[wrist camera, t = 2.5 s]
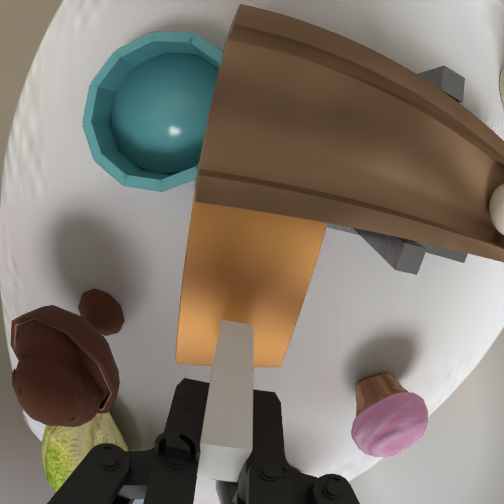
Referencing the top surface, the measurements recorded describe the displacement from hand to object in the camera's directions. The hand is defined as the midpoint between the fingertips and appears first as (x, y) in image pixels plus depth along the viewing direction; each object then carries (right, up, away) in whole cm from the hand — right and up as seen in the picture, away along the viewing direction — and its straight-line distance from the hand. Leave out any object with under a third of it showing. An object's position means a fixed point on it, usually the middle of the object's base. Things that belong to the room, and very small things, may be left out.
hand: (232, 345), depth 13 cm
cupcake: (+16, -12, +17) cm, 26 cm away
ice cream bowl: (-15, -2, +14) cm, 20 cm away
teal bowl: (-6, +15, +7) cm, 18 cm away
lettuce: (-23, -23, +22) cm, 40 cm away
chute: (+9, +7, +5) cm, 13 cm away
